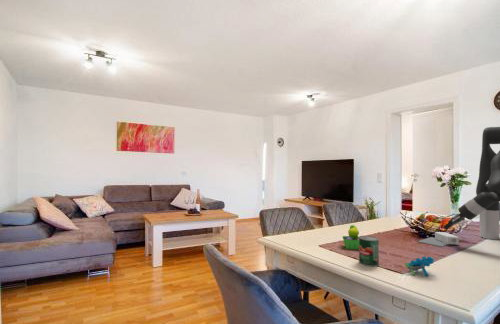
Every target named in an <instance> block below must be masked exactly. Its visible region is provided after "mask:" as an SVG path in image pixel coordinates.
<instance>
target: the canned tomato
mask: <svg viewBox="0 0 500 324" xmlns="http://www.w3.org/2000/svg"><path fill="white" fill-rule="evenodd" d="M358 237H359V250H358V262H359V264H361V265H363V266H366V267H378V266H379V265H380V261H379V259H380V258H379V257H380V256H379V255H380V253H379V245H380V244H379V241H380V240H379V238H378V237H375V236H370V235H359V236H358Z"/></svg>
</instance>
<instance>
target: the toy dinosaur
mask: <svg viewBox="0 0 500 324" xmlns="http://www.w3.org/2000/svg"><path fill="white" fill-rule="evenodd" d="M434 262H435V260H434V258H433V257H432V256H427V257H426V255H425V256H422V257H421V258H420V257H417V258H415V260H410V262H405V263H404V264H405V267H406V268H407V269H408V270H409V271H411V273H412V275H413V276H416V273H415V271H417V270H422V272H423V274H424V275H425V277H428V276H429V273H428V271H427V270H426V267H431V265H433V264H434Z"/></svg>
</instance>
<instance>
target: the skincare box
mask: <svg viewBox="0 0 500 324" xmlns="http://www.w3.org/2000/svg"><path fill="white" fill-rule="evenodd" d="M434 238H435V239H437V240H439V241H441V242H444V243H446V244H448V245H457V246H459V245H460V237H459V236H458V235H457V236H456V235H454V234H451V233H448V232H443V231H441V232H440V231H434Z"/></svg>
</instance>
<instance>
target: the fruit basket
mask: <svg viewBox="0 0 500 324" xmlns="http://www.w3.org/2000/svg"><path fill="white" fill-rule="evenodd" d="M359 233H360V232H359V229H358V227H357V226H355V224H352V225H350V226H349V229H348V233H347V234H348V235H346V236H345V235H343V236H341V237H342V239H343V243H344V246H345V249H346V250H357V251H359V237H360V236H359V235H360V234H359Z"/></svg>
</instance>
